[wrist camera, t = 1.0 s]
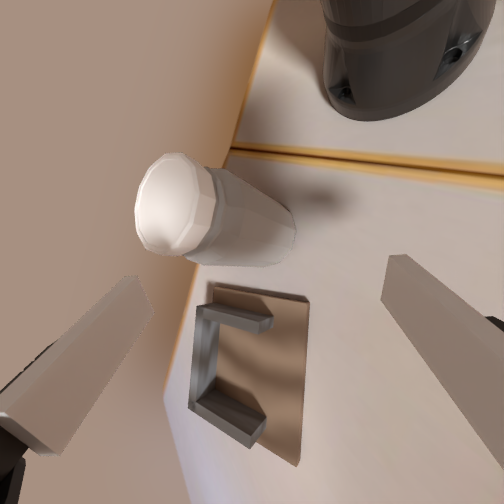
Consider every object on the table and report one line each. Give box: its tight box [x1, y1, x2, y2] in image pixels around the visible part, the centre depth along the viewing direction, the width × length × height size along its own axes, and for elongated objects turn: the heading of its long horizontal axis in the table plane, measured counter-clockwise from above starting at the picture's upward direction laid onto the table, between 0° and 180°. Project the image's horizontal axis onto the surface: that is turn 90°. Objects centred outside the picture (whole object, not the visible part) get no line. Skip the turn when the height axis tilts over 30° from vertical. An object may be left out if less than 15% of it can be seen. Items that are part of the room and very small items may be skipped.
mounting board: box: [188, 287, 310, 467], centre depth 29 cm, size 20×16×5 cm
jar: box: [134, 152, 296, 267], centre depth 24 cm, size 10×10×18 cm
